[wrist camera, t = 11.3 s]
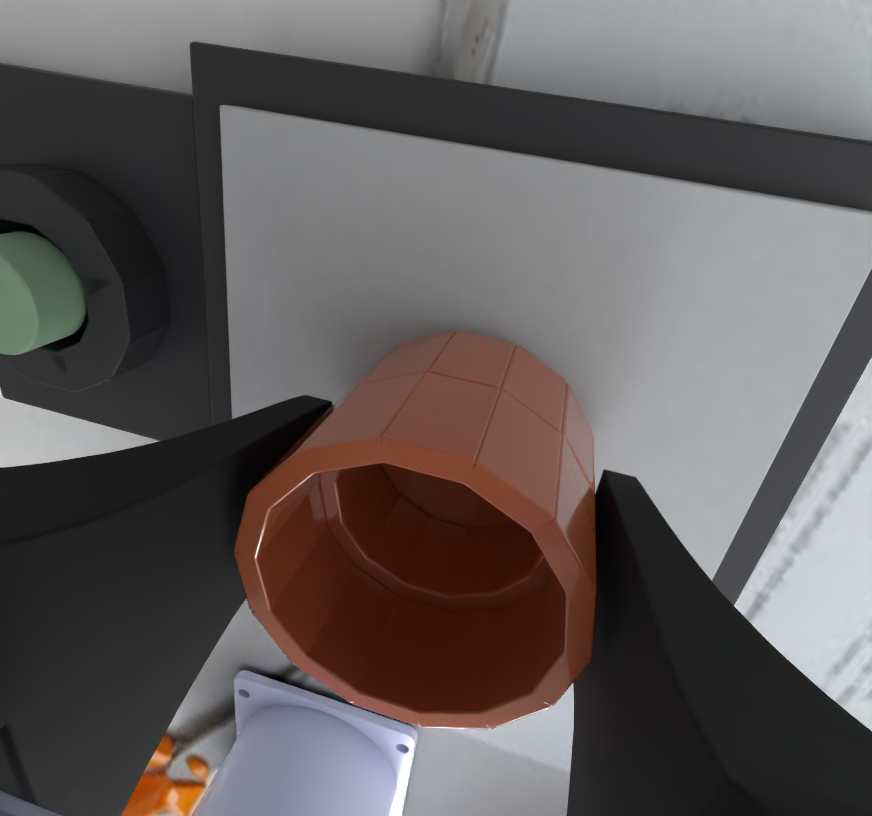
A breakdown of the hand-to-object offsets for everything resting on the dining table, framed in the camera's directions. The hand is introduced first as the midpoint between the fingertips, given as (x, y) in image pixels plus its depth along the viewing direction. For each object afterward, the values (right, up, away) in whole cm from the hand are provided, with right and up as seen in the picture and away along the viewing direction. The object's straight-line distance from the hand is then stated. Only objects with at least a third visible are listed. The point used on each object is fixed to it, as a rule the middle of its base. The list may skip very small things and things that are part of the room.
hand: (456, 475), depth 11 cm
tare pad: (-10, +6, +5) cm, 13 cm away
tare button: (-11, +5, +3) cm, 12 cm away
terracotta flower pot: (0, +1, +1) cm, 1 cm away
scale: (+1, +2, +4) cm, 4 cm away
